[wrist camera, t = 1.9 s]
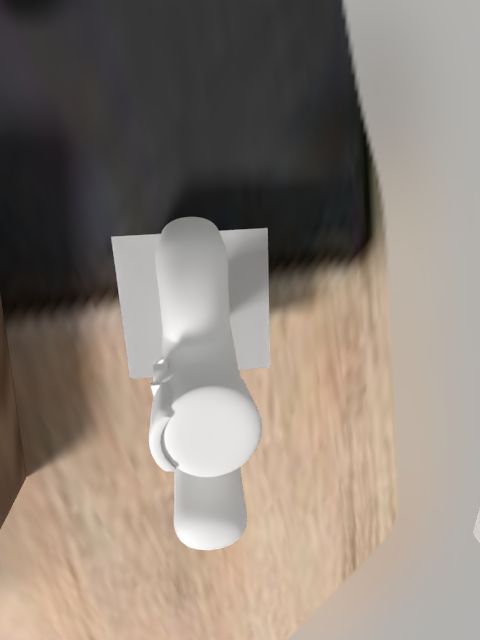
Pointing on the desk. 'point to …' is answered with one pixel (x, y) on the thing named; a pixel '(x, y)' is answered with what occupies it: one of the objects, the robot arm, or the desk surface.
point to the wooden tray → (8, 432)
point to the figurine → (198, 361)
